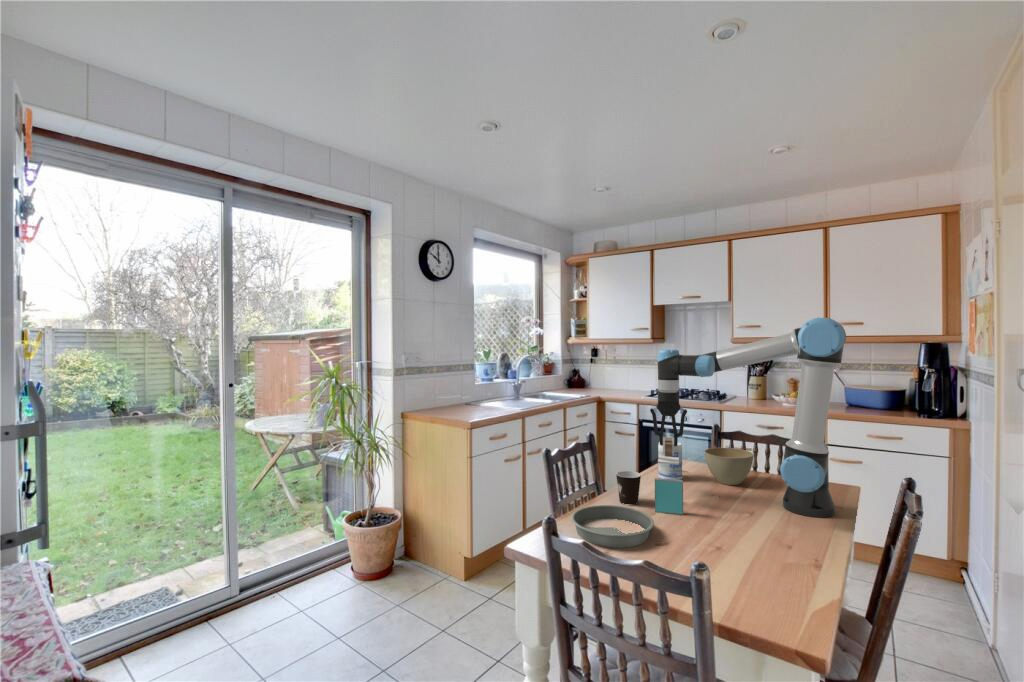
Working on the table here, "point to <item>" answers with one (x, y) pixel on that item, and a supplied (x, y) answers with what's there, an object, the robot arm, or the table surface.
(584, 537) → the cake pan
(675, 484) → the standing tile
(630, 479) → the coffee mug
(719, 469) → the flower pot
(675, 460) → the wooden handled spatula
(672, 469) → the supplement tub
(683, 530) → the table surface
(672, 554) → the table surface
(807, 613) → the table surface
